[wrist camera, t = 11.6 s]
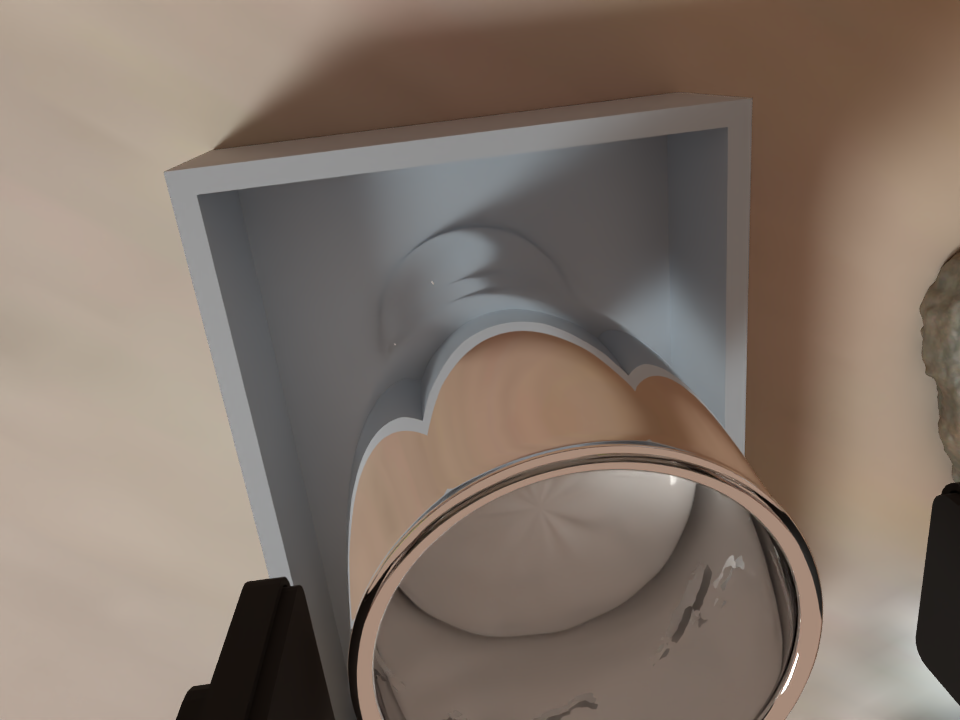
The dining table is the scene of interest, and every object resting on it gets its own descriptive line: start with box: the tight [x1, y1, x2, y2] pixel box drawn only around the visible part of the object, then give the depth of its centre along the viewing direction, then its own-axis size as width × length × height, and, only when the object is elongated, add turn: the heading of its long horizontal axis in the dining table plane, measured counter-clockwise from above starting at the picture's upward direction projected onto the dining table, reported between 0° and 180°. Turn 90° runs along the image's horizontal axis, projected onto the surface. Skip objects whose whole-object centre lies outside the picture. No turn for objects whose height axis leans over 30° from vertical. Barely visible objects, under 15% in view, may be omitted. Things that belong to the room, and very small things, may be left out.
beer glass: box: [346, 227, 823, 720], centre depth 17 cm, size 7×7×15 cm
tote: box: [164, 92, 752, 720], centre depth 24 cm, size 14×22×5 cm, turn 6°
